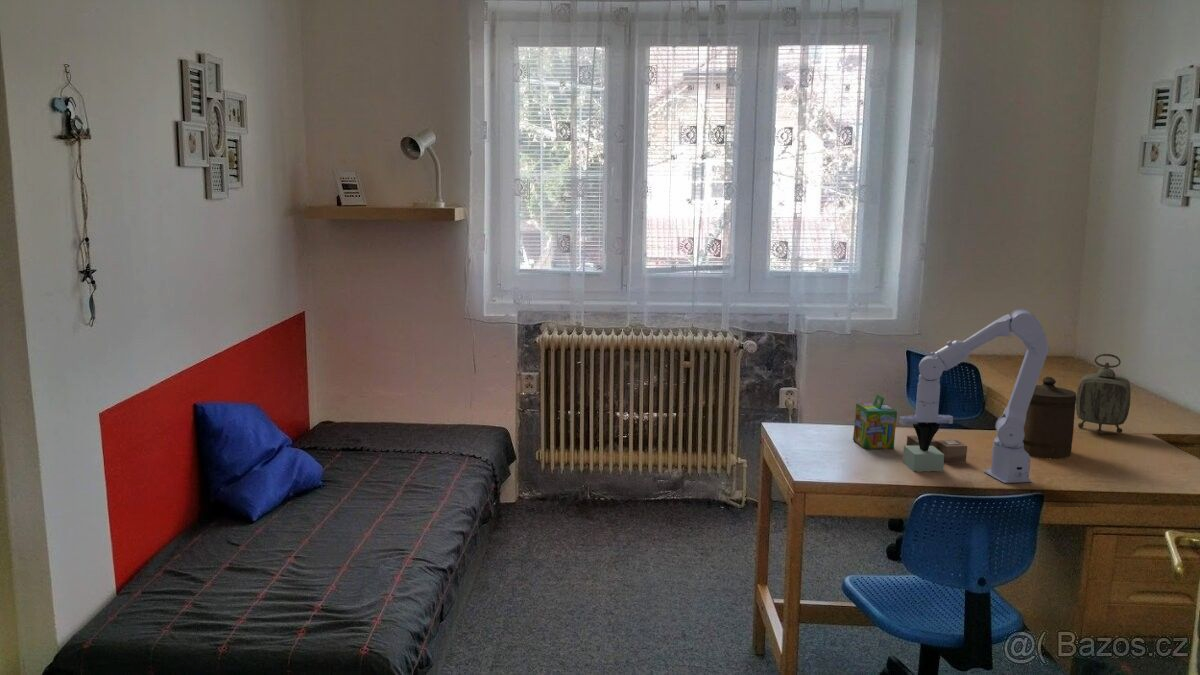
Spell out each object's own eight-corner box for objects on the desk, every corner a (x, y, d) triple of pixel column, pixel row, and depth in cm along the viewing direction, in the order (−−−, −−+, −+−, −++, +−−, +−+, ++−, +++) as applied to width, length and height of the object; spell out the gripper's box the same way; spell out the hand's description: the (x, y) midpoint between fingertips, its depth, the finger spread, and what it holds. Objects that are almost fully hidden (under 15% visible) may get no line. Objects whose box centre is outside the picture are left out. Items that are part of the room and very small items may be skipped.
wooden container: (1030, 441, 266) (1037, 369, 262) (1080, 453, 254) (1088, 379, 251) (1003, 449, 258) (1010, 375, 254) (1054, 462, 246) (1062, 385, 242)
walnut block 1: (936, 458, 249) (937, 440, 248) (916, 459, 248) (917, 441, 247) (925, 451, 255) (927, 434, 254) (905, 452, 254) (907, 435, 253)
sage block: (942, 472, 237) (944, 454, 236) (913, 472, 237) (914, 454, 236) (931, 463, 245) (932, 445, 244) (902, 462, 245) (903, 445, 244)
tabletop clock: (1126, 433, 277) (1135, 354, 272) (1125, 440, 269) (1135, 359, 265) (1074, 426, 284) (1082, 349, 280) (1072, 432, 276) (1080, 353, 272)
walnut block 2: (965, 463, 245) (967, 445, 244) (945, 463, 244) (946, 445, 243) (954, 456, 251) (955, 439, 250) (934, 457, 250) (935, 439, 249)
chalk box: (852, 440, 265) (855, 392, 262) (881, 440, 266) (885, 392, 263) (864, 449, 256) (867, 400, 253) (895, 449, 257) (898, 399, 254)
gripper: (944, 396, 243) (940, 444, 245) (895, 397, 240) (891, 446, 243) (959, 402, 236) (954, 452, 238) (908, 404, 233) (904, 453, 236)
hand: (923, 449), depth 240 cm, fingers closed
